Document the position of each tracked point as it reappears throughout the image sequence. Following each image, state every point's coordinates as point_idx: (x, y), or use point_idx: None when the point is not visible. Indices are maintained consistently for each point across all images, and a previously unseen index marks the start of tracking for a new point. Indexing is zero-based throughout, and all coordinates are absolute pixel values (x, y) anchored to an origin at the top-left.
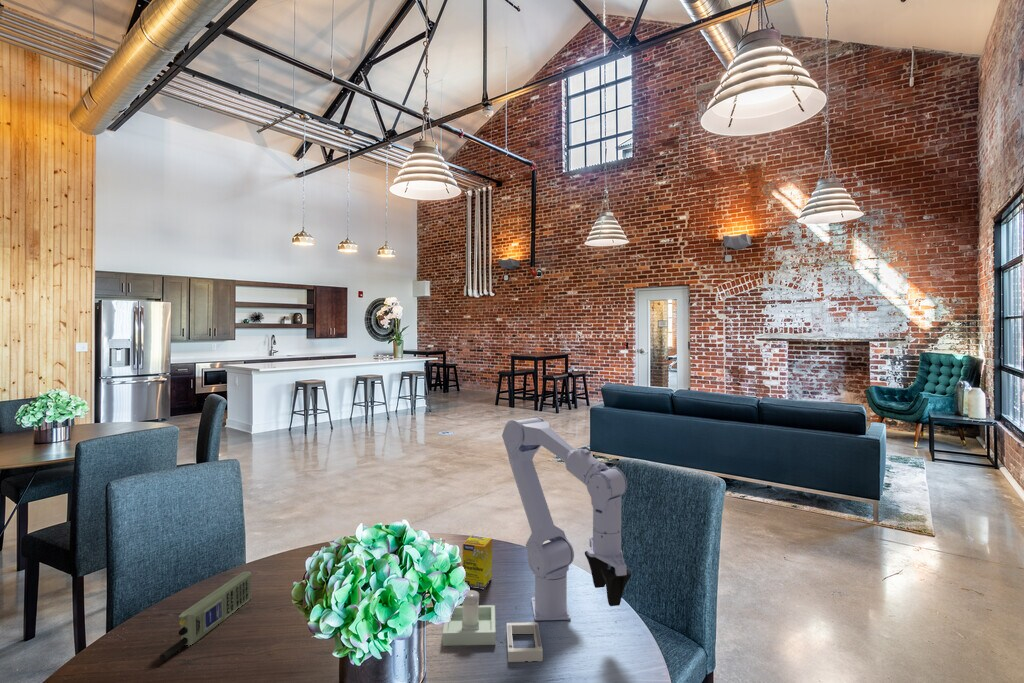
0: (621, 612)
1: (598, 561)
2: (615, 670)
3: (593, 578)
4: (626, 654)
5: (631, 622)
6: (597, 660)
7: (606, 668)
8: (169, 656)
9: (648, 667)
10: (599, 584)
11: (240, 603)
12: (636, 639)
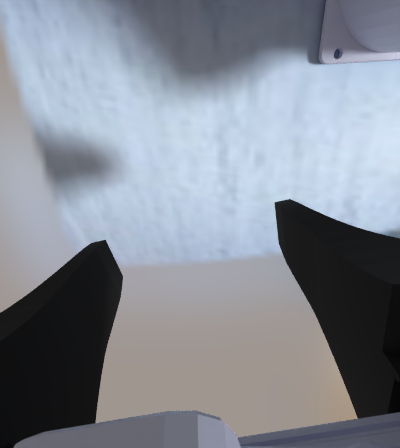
0: None
1: (350, 325)
2: (62, 171)
3: (293, 216)
4: (137, 209)
5: None
6: (96, 128)
7: (64, 149)
8: None
9: None
10: (281, 229)
11: None
12: (204, 242)
